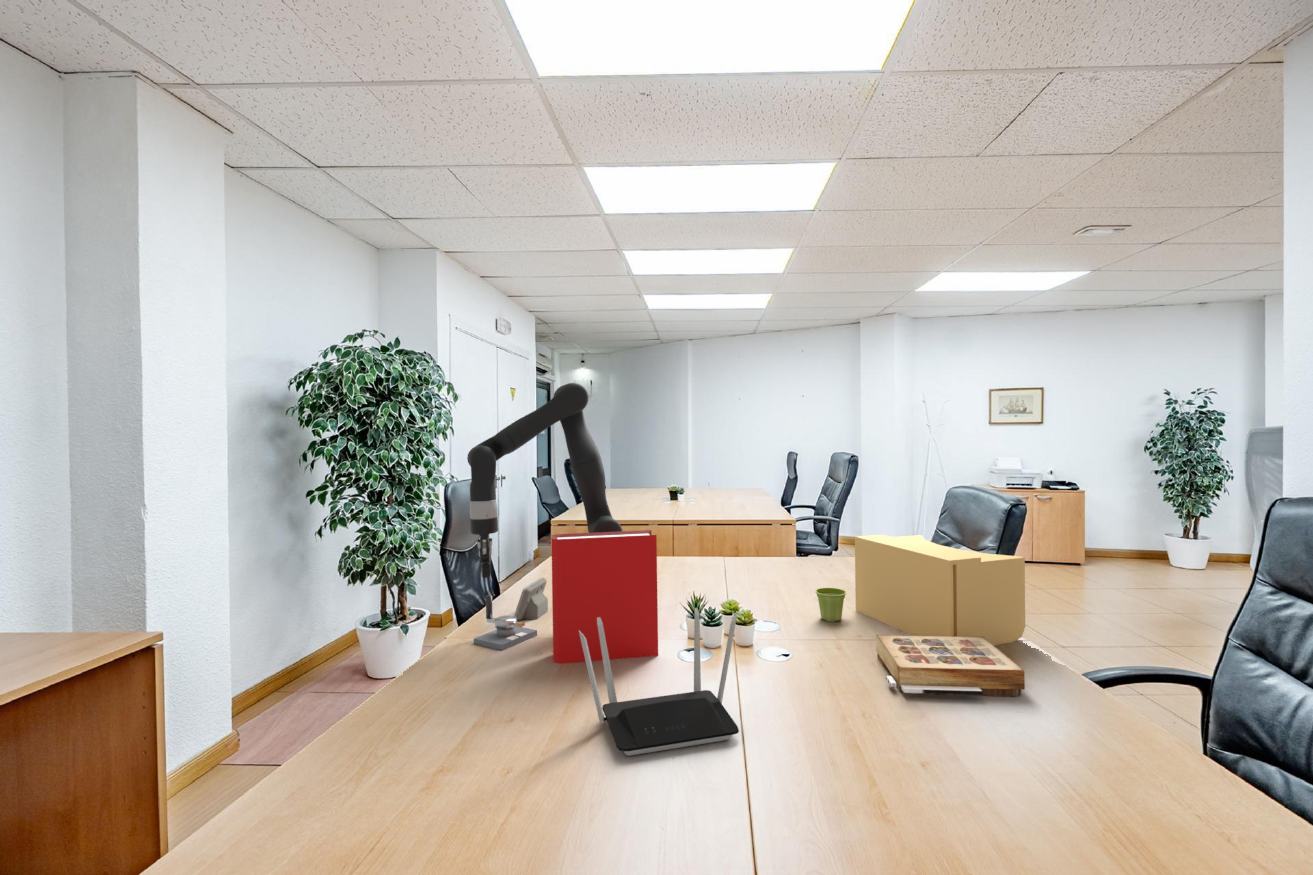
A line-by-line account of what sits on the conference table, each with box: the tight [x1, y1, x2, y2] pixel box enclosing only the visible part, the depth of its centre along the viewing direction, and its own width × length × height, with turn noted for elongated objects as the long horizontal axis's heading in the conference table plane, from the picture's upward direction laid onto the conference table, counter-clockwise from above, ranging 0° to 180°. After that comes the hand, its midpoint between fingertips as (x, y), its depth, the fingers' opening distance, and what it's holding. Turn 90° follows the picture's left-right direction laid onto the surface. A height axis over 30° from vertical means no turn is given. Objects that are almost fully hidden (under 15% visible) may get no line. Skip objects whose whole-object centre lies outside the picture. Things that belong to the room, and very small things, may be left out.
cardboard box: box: [854, 534, 1026, 646], centre depth 181 cm, size 40×26×24 cm, turn 18°
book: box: [550, 529, 659, 665], centre depth 160 cm, size 27×8×32 cm, turn 100°
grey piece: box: [485, 594, 526, 629], centre depth 173 cm, size 6×13×8 cm, turn 65°
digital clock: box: [513, 577, 549, 621], centre depth 196 cm, size 16×9×11 cm, turn 157°
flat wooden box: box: [875, 634, 1026, 697], centre depth 142 cm, size 25×6×28 cm
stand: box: [473, 626, 538, 651], centre depth 173 cm, size 11×14×4 cm
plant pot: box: [815, 587, 847, 622], centre depth 187 cm, size 9×9×9 cm
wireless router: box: [579, 607, 740, 757], centre depth 121 cm, size 34×23×20 cm
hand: (486, 576), depth 170 cm, fingers closed
